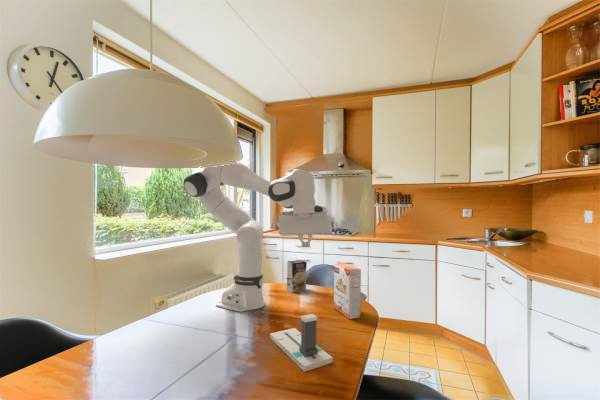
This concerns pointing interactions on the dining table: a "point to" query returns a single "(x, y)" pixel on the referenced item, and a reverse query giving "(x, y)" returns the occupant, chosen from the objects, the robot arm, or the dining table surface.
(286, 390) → the dining table surface
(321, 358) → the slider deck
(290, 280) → the coffee box
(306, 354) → the fader tab
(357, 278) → the cracker box
